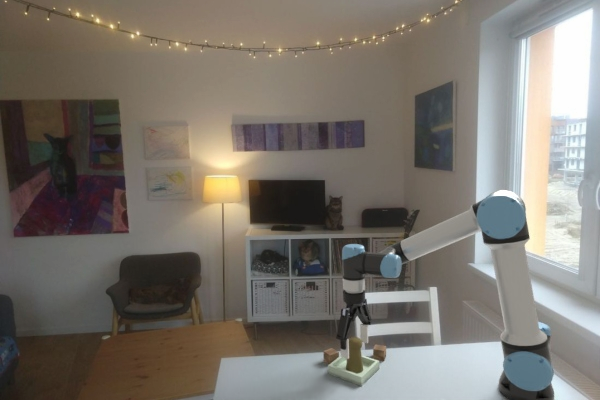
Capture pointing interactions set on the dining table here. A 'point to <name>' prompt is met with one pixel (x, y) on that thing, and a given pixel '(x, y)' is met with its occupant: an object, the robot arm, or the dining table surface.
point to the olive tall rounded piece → (355, 356)
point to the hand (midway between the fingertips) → (355, 349)
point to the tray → (340, 371)
